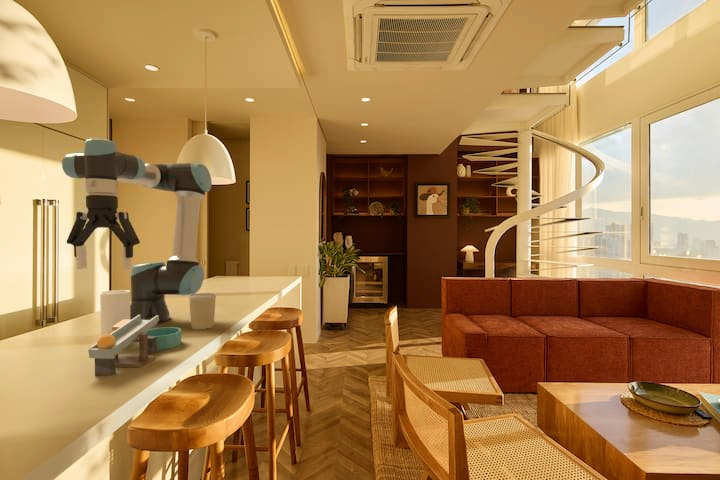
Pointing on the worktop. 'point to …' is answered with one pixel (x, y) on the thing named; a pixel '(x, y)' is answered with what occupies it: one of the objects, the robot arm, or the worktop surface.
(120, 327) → the lever
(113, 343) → the ball
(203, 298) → the coffee cup
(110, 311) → the cup
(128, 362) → the stand
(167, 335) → the dish
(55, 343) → the worktop surface
